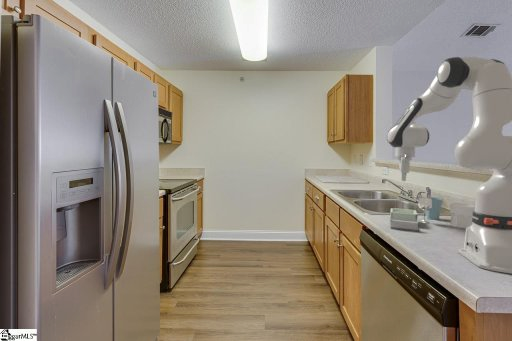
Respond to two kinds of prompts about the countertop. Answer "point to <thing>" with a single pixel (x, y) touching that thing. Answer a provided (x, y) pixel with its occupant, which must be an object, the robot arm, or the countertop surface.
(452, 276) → the countertop surface
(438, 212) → the cup
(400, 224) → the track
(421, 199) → the wineglass
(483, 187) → the robot arm
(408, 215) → the grey green box
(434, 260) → the countertop surface
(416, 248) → the countertop surface
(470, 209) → the cup
